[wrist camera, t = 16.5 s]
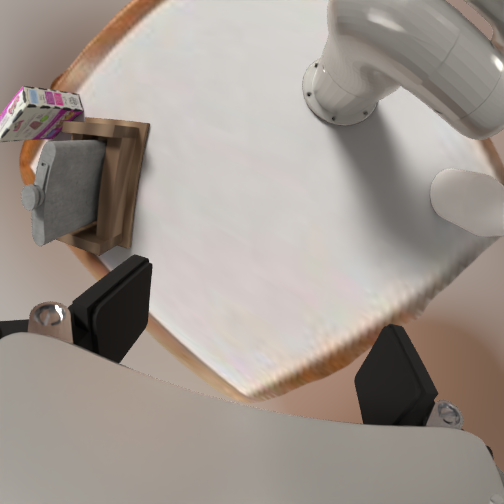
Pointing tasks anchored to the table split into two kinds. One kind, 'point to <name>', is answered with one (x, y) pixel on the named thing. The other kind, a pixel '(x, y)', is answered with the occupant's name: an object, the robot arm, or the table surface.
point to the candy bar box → (38, 114)
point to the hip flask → (65, 188)
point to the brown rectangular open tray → (111, 182)
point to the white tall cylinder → (469, 201)
